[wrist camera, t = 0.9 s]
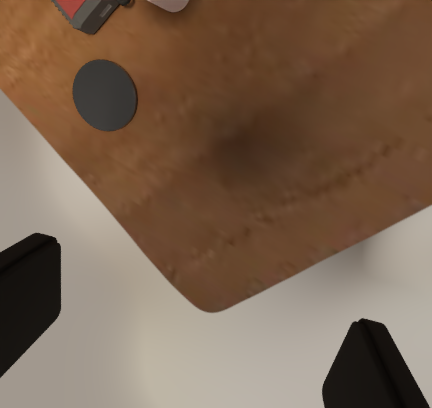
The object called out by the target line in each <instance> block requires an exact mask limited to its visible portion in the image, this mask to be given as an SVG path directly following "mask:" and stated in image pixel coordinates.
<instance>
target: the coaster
mask: <svg viewBox="0 0 432 408" xmlns="http://www.w3.org/2000/svg"><path fill="white" fill-rule="evenodd" d="M73 99H74V103H75V106H76V108H77V110H78V112H79V114H80V115H81V116H82V118H83V119H84V120H85V121H86V122H87V123H88V124H90V125H91V126H93V127H94V128H96V129H99V130H103V131H114V130H119V129H121V128H123V127H125V126H126V125H127V124H128V123H129V122H130V121H131V120H132V118H133V117H134V114H135V112H136V109H137V91H136V88H135V85H134V82H133V80H132V79H131V77H130V76H129V74H128V73H127V72H126V71H125V70H124V69H123V68H122V67H121V66H119V65H118V64H116V63H113V62H111V61H107V60H93V61H90V62H88V63H86V64H85V65H84V66H82V67H81V69H80V70H79V71H78V73H77V74H76V76H75V79H74V83H73Z"/></svg>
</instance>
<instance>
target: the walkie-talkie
mask: <svg viewBox="0 0 432 408" xmlns="http://www.w3.org/2000/svg"><path fill="white" fill-rule="evenodd" d="M51 1H52V2H54V4H55V6H56V7H58V10H59V11H61V12H62V15H64V16H65V17H66V19H67V20H68V21H69V23H70V24H71V25H72V26H73V28H75V29H77V30H80V31H82V32H85V33H89V34H94V33H95V32H96V31H97V30H98V29H99V27H100V26H101V25H102V24H103V23H104V21H105V20H106V19H107V18H108V17H109V15H110V14H111V13H112V12H113V11H114V9H115V8H116V7H117V6H118V5H119V4H121V5H122V6H126V5H127V4H129V3H130V1H131V0H51Z"/></svg>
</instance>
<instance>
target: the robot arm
mask: <svg viewBox="0 0 432 408" xmlns="http://www.w3.org/2000/svg"><path fill="white" fill-rule="evenodd" d="M60 311H61V246H60V244H59V243H57V240H56V238H55V237H52V236H48V235H45V234H40V233H34V234H32V235H30V236H28V237H26V238H25V239H23V240H21V241H20V242H18V243H16V244H14V245H12V246H11V247H9V248H7V249H5V250H4V251H2V252H0V378H1V377H2V376H3V374H4V373H5V372H6V371H7V370H8V369H9V368H10V367H11V366H12V365H13V364H14V363H15V362H16V361H17V360H18V359H19V358H20V357H21V356H22V355H23V354H24V353H25V352H26V350H27V349H28V348H29V347H30V346H31V345H32V344H33V343H34V342H35V341H36V340H37V339H38V338H39V337H40V336H41V335H42V334H43V333H44V331H46V330H47V328H49V326H50V325H51V324H52V323H53V322H54V321H55V320H56V319H57V317H58V316H59V313H60ZM322 395H323V401H324V407H325V408H430V407H429V405H428V403H427V401H426V399H425V398H424V396H423V394H422V392H421V390H420V388H419V387H418V385H417V383H416V381H415V380H414V377H413V376H412V374H411V372H410V370H409V369H408V366H407V365H406V363H405V361H404V359H403V357H402V355H401V354H400V352H399V350H398V348H397V346H396V344H395V343H394V341H393V339H392V337H391V335H390V333H389V332H388V330H387V328H386V326H385V325H384V324H382V323H379V322H375V321H372V320H368V319H363V318H362V319H360V320H359V321H358V322H356V321H355V322H353V323H352V325H351V327H350V328H349V330H348V333H347V335H346V337H345V339H344V341H343V343H342V345H341V347H340V350H339V352H338V354H337V356H336V358H335V360H334V362H333V364H332V366H331V369H330V371H329V373H328V375H327V377H326V379H325V381H324V384H323V388H322Z"/></svg>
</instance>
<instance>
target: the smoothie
mask: <svg viewBox="0 0 432 408" xmlns="http://www.w3.org/2000/svg"><path fill="white" fill-rule="evenodd" d="M147 1H149V2H151V3H153V4H155V5H157V6H159V7H161V8H163V9H165V10H167V11H169V12H178V11H180V10H182V9H183V8H184V7H185V6H186V5H187V3H188V1H189V0H147Z"/></svg>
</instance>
